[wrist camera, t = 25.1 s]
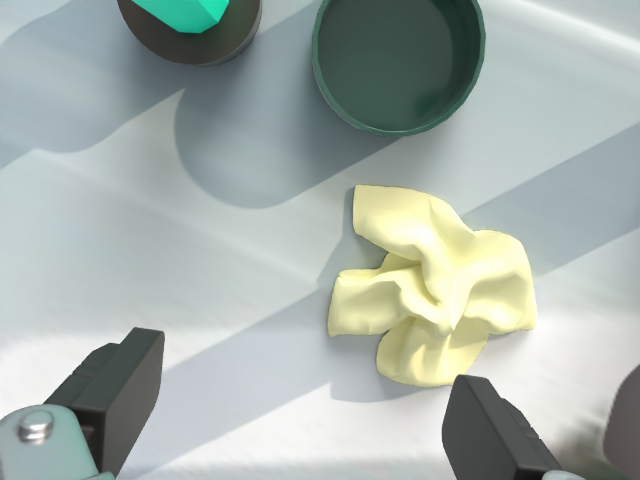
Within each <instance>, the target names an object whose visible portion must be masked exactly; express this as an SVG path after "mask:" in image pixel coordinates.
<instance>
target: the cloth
mask: <svg viewBox="0 0 640 480" xmlns="http://www.w3.org/2000/svg"><path fill="white" fill-rule="evenodd" d="M353 227H354V230H355V233H356V234H358V235H361V236H363V237H364V238H366V239H367V240H369V241H370V242H372V243H374V244H376V245H378V246H379V247H381V248H383V249H385V250H387V251H388V252H389V253H388V254H387V255H386V256H385V259H384V261H383V263H382V265H381V267H380V268H378V269H375V270H371V269H362V270H354V269H348V270H344V271H341V272H340V273H339V274H338V278H337V279H336V281H335V285H334V290H333V296H332V300H331V304H330V309H329V315H328V321H327V326H328V334H329V336H337V335H338V334H359V335H377V334H382V333H383V332H385V331H387V330H389V329H390V330H389V331H388V333H387V334H386V335H384V336H383V337H382V339H381V341H380V343H379V346H378V350H377V358H376V365H377V371H378V372H379V373H381V374H383V375H385V376H386V377H388V378H390V379H392V380H393V381H395V382H400V383H404V384H408V385H413V386H419V387H437V386H442V385H446V384H447V385H451V386H452V385H453V383H454V380H455V378H456V376H457V375H459V374H462V375H464V374H465V372H466V371H467V370H468V369H469V367H470V366H471V365H472V363H473V362H474V361H475V359H476V358H477V356H478V355H479V353H480V352H481V351H482V349H483V347H484V346H485V344H486V342H487V340H488V338H489V334H490V333H491V334H506V333H510V332H513V331H517V330H524V331H528V330H532V329H534V328H535V327H536V323H537V307H536V301H535V296H534V287H533V279H532V275H531V270H530V265H529V262H528V259H527V256H526V253H525V251H524V248H523V245H522V244H521V243H520V241H518V240H516V239H514V238H513V237H511V236H509V235H507V234H504V233H501V232H498V231H491V230H483V231H476V232H472V231H471V230H470V229H469V228H468V227H466V226H465V225H464V223H463V222H462V221H461V219H460V218H459V217H458V216H457V214H456V213H455V212H454V210H453V209H452V208H451V207H450V206H449V205H448V204H447V203H446V202H444V201H442V200H440V199H438V198H436V197H434V196H431V195H429V194H426V193H423V192H419V191H416V190H411V189H405V188H397V187H382V186H369V185H357V186H356V187H355V191H354V201H353Z"/></svg>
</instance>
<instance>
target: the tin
mask: <svg viewBox="0 0 640 480" xmlns="http://www.w3.org/2000/svg"><path fill="white" fill-rule="evenodd" d="M485 40H486V33H485V27H484V21H483V15H482V10H481V8H480V6H479V4H478V2H477V0H324V1H323V3H322V5H321V7H320V8H319V10H318V13H317V18H316V22H315V26H314V30H313V34H312V67H313V71H314V75H315V78H316V82H317V86H318V88H319V90H320V92H321V93H322V96H323V97H324V99H325V101H326V102H327V104H328V106H329V107H330V108H331V109H332V110H333V111H334V112H335V113H336V114H337V115H338V116H339V117H340V118H341V119H342V120H343V121H345V122H347V123H348V124H350V125H352V126H354V127H355V128H357V129H359V130H361V131H365V132H368V133H372V134H376V135H380V136H385V137H394V136H410V135H414V134H417V133H421V132H424V131H428V130H430V129H431V128H433V127H435V126H437V125H438V124H440V123H442V122H443V121H445V120H447V119H448V118H449V117H450V116H451V115H452V114H453V113H454V112H455V111H456V110H457V109H458V108H459V107H460V106H461V105H462V104H463V103H464V102H465V100H466V99H467V97H468V96H469V94H470V92H471V91H472V89H473V87H474V86H475V84H476V82H477V80H478V76H479V73H480V70H481V67H482V64H483V61H484V53H485Z"/></svg>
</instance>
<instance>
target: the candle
mask: <svg viewBox="0 0 640 480" xmlns="http://www.w3.org/2000/svg"><path fill="white" fill-rule="evenodd" d="M132 1H134V2H135V3H136V4H138V5H139V6H141V7H142V8H144V9H145V10H147V11H148V12H150V13H151V14H153V15H154V16H155V17H157V18H158V19H160V20H161V21H163V22H164V23H166V24H167V25H169V26H170V27H172V28H173V29H175V30H177V31H178V32H186V33H201V32H203V31H205V30H207V29H208V28H210V27H212V26H214V25H215V24H217V23H218V22H219V20H220V19H221V17H222V15H223V13H224V11H225V9H226V7H227V6H228V4H229V0H132Z"/></svg>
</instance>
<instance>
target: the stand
mask: <svg viewBox="0 0 640 480" xmlns="http://www.w3.org/2000/svg"><path fill="white" fill-rule="evenodd" d="M117 1H118V5H119V8H120V11H121V13H122V15H123V18H124V20H125V21H126V23H127V25H128V27H129V28H130V30H131V31H132V32H133V34H134V35H135V36H136V37H137V38H138V40H139V41H140V42H141V43H142V44H143V45H145V46H146V47H147V48H148V49H149V50H151V51H152V52H154V53H155V54H157V55H159V56H161V57H163V58H165V59H167V60H169V61H172V62H175V63H179V64H184V65H194V66H203V67H206V66H215V65H219V64H222V63H225V62H228V61H229V60H231V59H233V58H235V57H236V56H237V55H239V54H240V53H241V52H242V51H243V50H244V49H245V48H246V47H247V46H248V45H249V43H250V42H251V41H252V39H253V37H254V36H255V34H256V31H257V29H258V27H259V23H260V19H261V13H262V0H229V4H228V6H227V7H226V9H225V11H224V13H223V15H222V17H221V19H220V20H219V22H218V23H217V24H215V25H214V26H212V27H210V28H208V29H207V30H205V31H203V32H201V33H186V32H178V31H177V30H175V29H173V28H172V27H170V26H169V25H167V24H166V23H164V22H163V21H161V20H160V19H158V18H157V17H155V16H154V15H153V14H151V13H150V12H148V11H147V10H145V9H144V8H142V7H141V6H139V5H138V4H136V3H135V2H134V1H132V0H117Z"/></svg>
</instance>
